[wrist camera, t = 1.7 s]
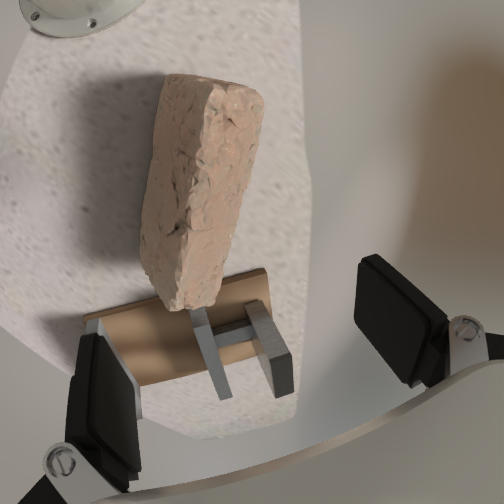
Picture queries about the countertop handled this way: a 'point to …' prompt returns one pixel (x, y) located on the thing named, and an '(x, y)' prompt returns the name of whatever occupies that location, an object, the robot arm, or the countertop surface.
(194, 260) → the brick
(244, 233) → the countertop surface
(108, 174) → the countertop surface
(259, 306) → the free jaw
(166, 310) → the vise base
